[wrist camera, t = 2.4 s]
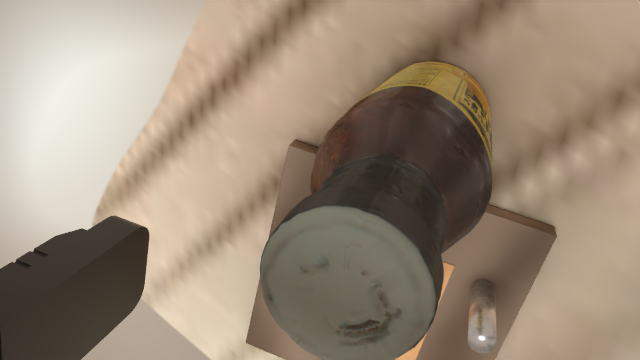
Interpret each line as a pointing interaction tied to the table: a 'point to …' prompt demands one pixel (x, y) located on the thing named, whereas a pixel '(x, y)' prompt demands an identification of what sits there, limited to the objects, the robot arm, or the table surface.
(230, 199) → the table surface
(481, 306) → the metal pins
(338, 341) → the sauce bottle
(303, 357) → the board
